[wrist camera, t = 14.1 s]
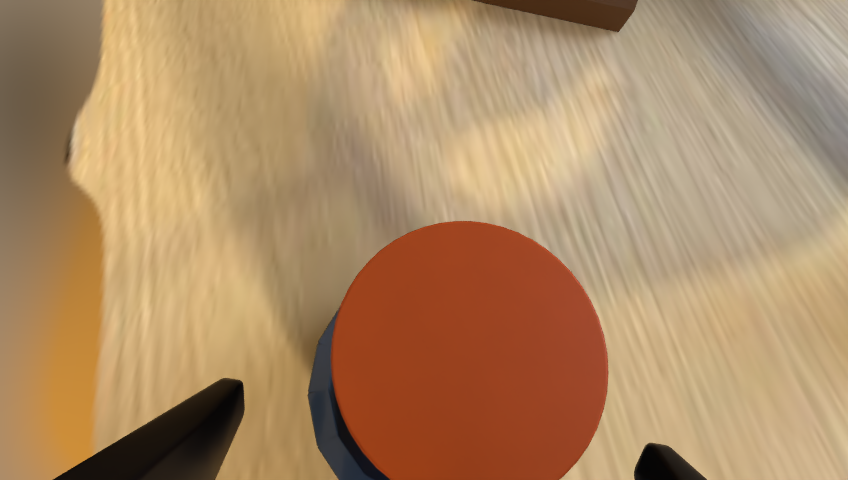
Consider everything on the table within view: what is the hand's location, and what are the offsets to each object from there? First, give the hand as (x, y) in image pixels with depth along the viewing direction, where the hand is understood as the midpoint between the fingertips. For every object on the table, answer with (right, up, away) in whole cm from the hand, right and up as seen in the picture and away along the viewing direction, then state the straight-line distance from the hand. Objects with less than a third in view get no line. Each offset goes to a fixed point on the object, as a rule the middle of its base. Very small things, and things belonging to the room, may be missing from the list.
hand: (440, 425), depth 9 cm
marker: (0, -2, +9) cm, 9 cm away
